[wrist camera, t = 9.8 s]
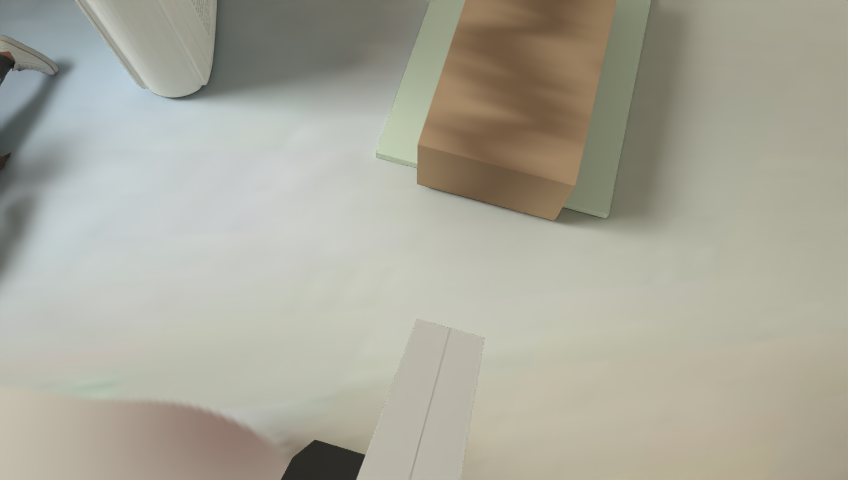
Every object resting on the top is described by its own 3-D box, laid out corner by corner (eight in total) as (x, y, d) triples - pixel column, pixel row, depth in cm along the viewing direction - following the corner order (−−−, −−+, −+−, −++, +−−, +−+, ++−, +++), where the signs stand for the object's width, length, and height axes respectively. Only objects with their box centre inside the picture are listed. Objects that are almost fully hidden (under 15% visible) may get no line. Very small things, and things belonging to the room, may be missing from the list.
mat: (376, 157, 31) (375, 152, 30) (456, -70, 36) (457, -77, 36) (605, 218, 30) (608, 214, 29) (654, -24, 35) (657, -31, 35)
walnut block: (417, 144, 26) (494, -88, 31) (417, 183, 30) (485, -28, 34) (575, 186, 25) (629, -57, 30) (554, 220, 29) (605, 0, 34)
